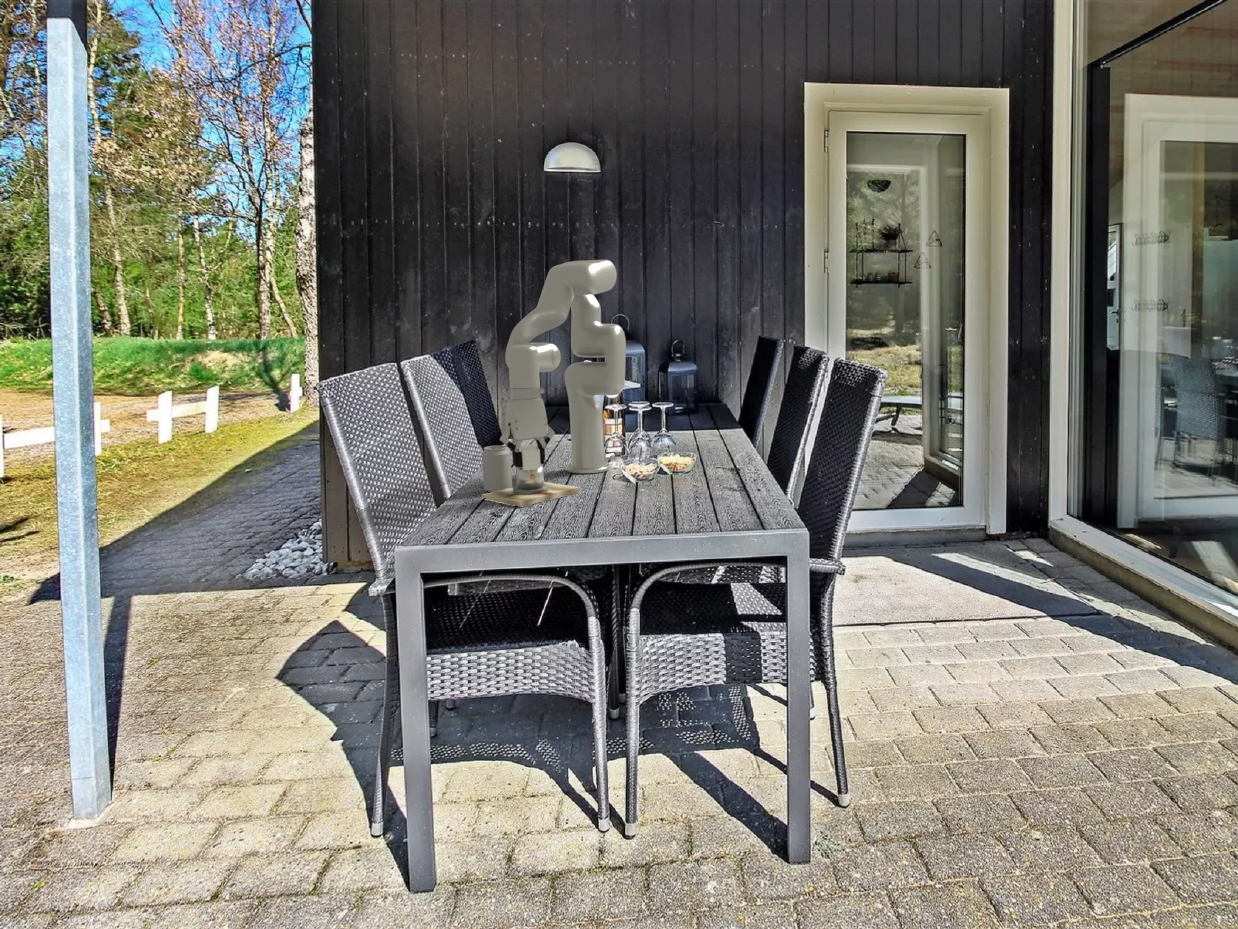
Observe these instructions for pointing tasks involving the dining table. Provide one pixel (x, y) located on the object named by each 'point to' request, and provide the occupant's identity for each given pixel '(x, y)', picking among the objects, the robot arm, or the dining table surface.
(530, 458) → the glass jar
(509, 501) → the base plate
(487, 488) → the can
